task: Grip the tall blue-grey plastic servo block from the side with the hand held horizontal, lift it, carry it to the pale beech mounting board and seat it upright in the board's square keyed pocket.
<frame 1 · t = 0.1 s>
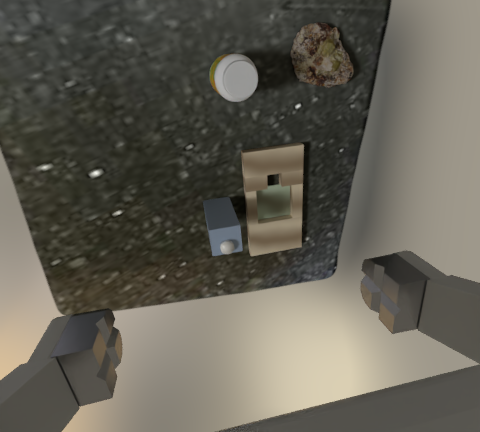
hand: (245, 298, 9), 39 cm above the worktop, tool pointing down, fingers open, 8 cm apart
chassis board: (272, 201, 53), on the worktop
supplement bottle: (227, 75, 42), on the worktop
servo block: (217, 210, 52), on the worktop
mineral rock: (319, 59, 44), on the worktop
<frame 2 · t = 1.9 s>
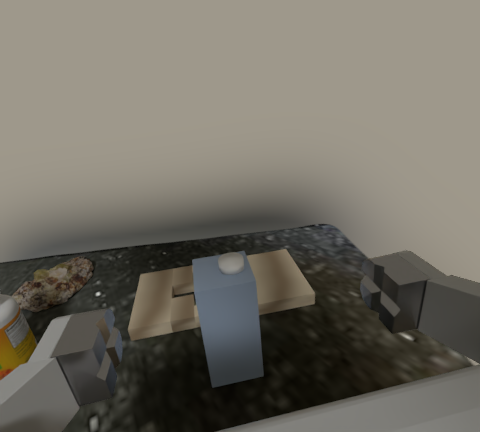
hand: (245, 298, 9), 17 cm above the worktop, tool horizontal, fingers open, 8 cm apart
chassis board: (221, 292, 36), on the worktop
supplement bottle: (12, 374, 28), on the worktop
servo block: (234, 360, 27), on the worktop
mineral rock: (60, 290, 41), on the worktop
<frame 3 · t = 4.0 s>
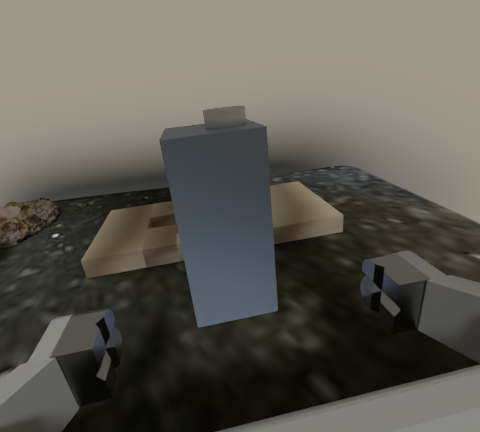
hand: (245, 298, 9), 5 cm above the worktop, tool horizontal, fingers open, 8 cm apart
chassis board: (215, 227, 27), on the worktop
servo block: (232, 293, 18), on the worktop
mineral rock: (13, 236, 32), on the worktop
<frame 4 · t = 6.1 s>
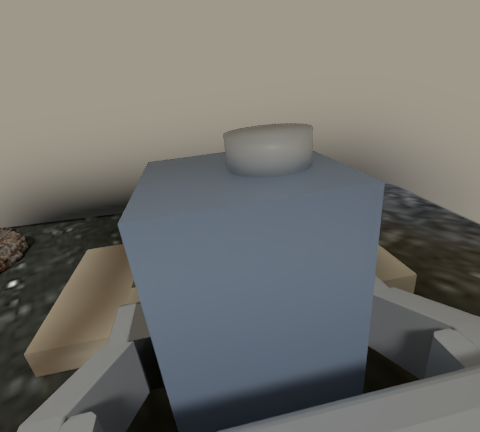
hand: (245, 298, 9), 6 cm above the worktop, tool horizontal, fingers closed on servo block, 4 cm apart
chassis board: (226, 278, 20), on the worktop
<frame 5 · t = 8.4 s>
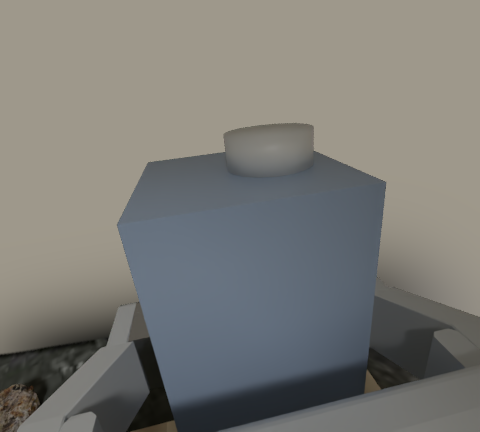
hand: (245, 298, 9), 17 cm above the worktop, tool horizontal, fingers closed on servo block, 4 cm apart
when the fingers open (7 cm above the worktop, at t = 10.8 s): servo block drops 2 cm, resting on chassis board.
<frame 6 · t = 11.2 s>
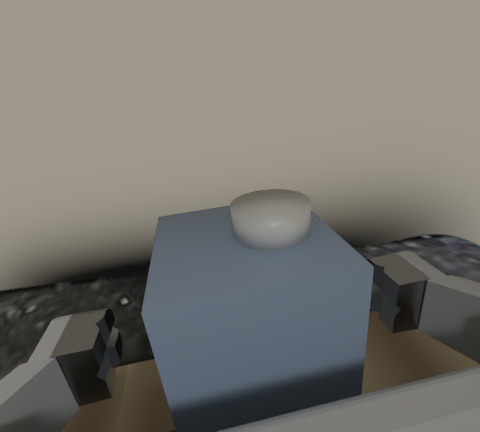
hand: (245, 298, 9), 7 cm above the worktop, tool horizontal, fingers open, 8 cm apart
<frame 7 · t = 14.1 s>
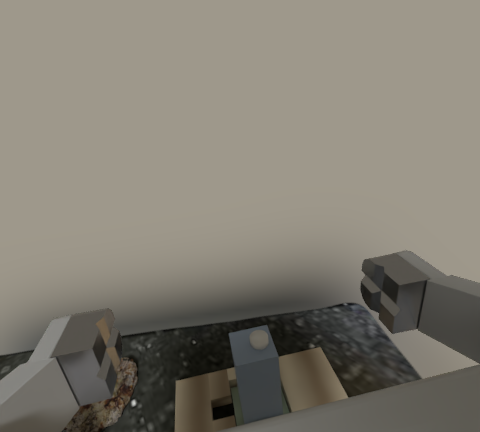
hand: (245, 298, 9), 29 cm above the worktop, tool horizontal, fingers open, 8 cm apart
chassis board: (260, 406, 36), on the worktop
servo block: (259, 405, 36), resting on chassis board
mineral rock: (107, 400, 39), on the worktop
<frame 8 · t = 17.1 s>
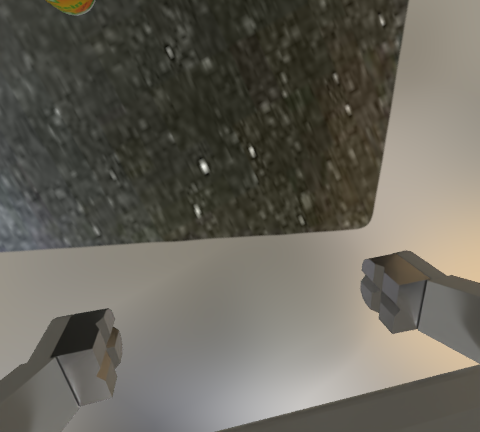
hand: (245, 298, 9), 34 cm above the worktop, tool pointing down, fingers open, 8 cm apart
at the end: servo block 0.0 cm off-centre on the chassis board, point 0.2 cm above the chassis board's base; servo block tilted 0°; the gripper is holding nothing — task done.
